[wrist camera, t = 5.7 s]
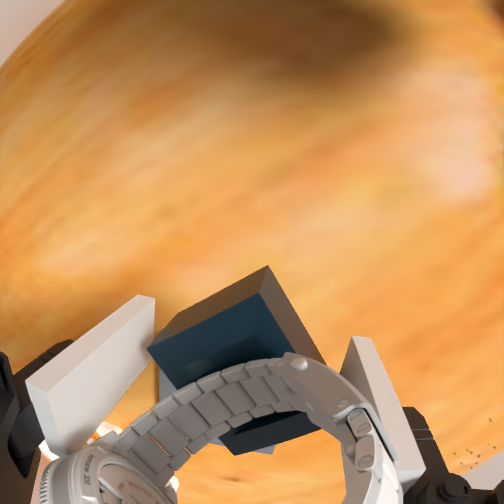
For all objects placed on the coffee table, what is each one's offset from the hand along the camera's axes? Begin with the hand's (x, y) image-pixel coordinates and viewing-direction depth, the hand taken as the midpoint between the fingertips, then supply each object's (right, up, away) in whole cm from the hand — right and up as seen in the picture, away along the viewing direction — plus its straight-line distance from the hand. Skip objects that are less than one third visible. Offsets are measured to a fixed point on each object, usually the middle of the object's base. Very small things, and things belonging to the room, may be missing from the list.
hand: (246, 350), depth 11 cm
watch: (0, 0, +1) cm, 1 cm away
